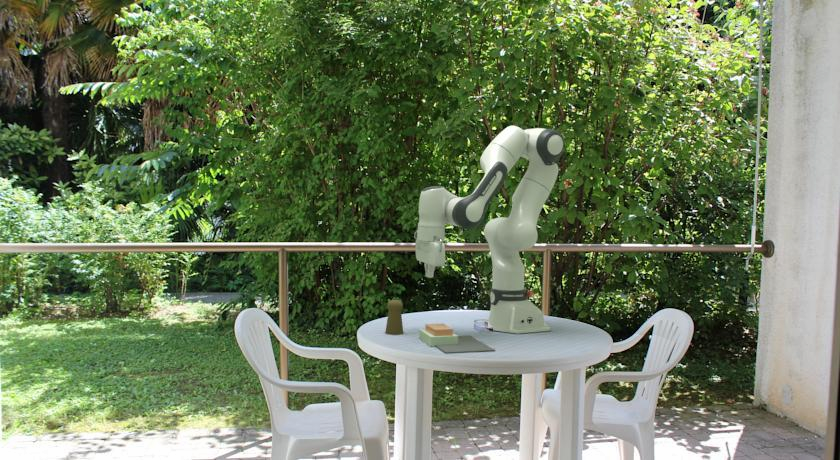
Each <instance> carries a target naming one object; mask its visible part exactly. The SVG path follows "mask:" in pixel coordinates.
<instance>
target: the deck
mask: <svg viewBox="0 0 840 460" xmlns="http://www.w3.org/2000/svg"><path fill="white" fill-rule="evenodd" d="M458 336H459V335H457V334H456V333H454V332H453V335H452V336H433V335H432V334H430V333H429V332H427V331H426V328H420V329H418V339H419V340H421V341H422V342H423V343H425V344H426V345H428V346H429V347H435V345H451V344H458ZM435 348H436V347H435Z"/></svg>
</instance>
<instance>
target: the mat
mask: <svg viewBox="0 0 840 460" xmlns="http://www.w3.org/2000/svg"><path fill="white" fill-rule="evenodd" d="M457 336H458V344H451V345H435V348H437V349H438V350H439V351H441V352H442V353H444V354H446V355H447V354H461V353H462V354H463V353H467V354H468V353H483V352H485V353H486V352H496V349H494V347H491V346H489V345H488V344H485V343H484V342H482V341H480V340H478V339H477V338H475V337H473V336H472V335H457Z"/></svg>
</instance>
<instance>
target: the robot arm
mask: <svg viewBox="0 0 840 460" xmlns="http://www.w3.org/2000/svg"><path fill="white" fill-rule="evenodd" d="M564 149H565V139H564V136H563V134H561V132H559V131H558V130H555V129H552V128H543V127H542V128H540V127H535V128H521V127H520V126H517V125H509V126H507V127H506V128H504V129H502V130H501V131H500V132H499V133H498V134H497V135H496V136H495V137H494V138H493V139H492V140H491V141H490V143H489V144H488V146H486V148H485V149H484V150H483V152H482V154H481V156H480V159H479V164H480V168H481V170H482V171H483V172H484V175H483V177H482V179H481V180H480V182H479V183H478V185H477V186H476V187H475V189H474V190H473V192H472V193H470V195H469V194H468V195H467V196H465V197H464V196H463V197H462V196H461V197H459V196H458V195H455V194H453V193H452V192H450V191H449V190H447V189H446V188H445V186H442V185H433V186H427V187H425V188H423V189H422V190H421V192H420V196H419V201H418V217H419V221H418V223H417V230H416V231H415V232H414V235H413V236H414V239H415V257H416V261H419V262H422V263H424V264H423V265H424V271H425V277H426V278H429V279H431V278H434V273H435V270H436V267H444V266H445V265H446V264H445V263H446V246H445V243H444V241H445V235H446V234H445V229H446V224H447V225H450V226H454V227H460V228H462V229H466V230H473V229H476V228H477V227H479V226H480V225H481V223H482V222H483V221H484V218H485V215H486V212H487V209H488V207H489V205H490V203H491V202H492V200H493V199H494V197H495V196H496V194H497V193H498V191H499V189H500V188H501V186H502V185H503V183H504V182H505V180H506V178H507V176H508V174H509V172H510V171H511V170H512V169H513V167H514V166H515V165H516V163H517V162H518V161H519V160H520V159H524V160H525V159H526V160H528V161H529V163H528V167H527V170H526V171H525V174H524V175H522V176H523V177H522V178H521V180H520V182H519V184H518V185H517V187H516V189H515V191H514V193H513V195H512V197H511V202H512V206H511V210H510V213H509V216H508V217H505V216H504V217H503V216H501V217H500V216H499V217H496V218H493V219H490V220H489V221H488V222H486V224H485V226H484V228H483V235H484V238H485V240H486V241H487V244H488V248H489V253H490V257H491V263H492V279H491V280H492V283H491V285H492V287H491V288H490V294H489V295H490V310H489V316H488V320H487V323H488V322H489V324H490V325H491V326H492V327H493V330H492V331H496V332H502V333H511V334H529V333H539V332H549V331H551V327H550V325H549V324H546V323H545V317H544V316H545V315H544V313H543V311H542V310H541V309H540V308H539V307H538V306H536V305H535V304H534V303H533V302H532V301H530V300H529V297H530V298H532V297H534V296H535V294H534V293H533V291H531V290H527V289H525V266H524V263H523V262H522V260H521V256H520V252H522V251H526V250H529V249H531V248H533V247H534V246H535V245H536V243H537V241H538V236H539V235H538V230H537V225H538V220H539V216H540V214H541V211H542V209H543V207H544V205H545V203H546V201H547V200H548V197H549V196H550V194H551V192H552V190H553V188H554V186H555V184H556V181H557V178H558V175H559V166H558V162H559V161H560V160H561V156H562V154H563V152H564Z"/></svg>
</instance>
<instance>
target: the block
mask: <svg viewBox="0 0 840 460" xmlns="http://www.w3.org/2000/svg"><path fill="white" fill-rule="evenodd" d="M425 329H426V331H427V332H429V333H430V334H432V335H433V336H452V335H453V333H454V332H453V331H454V330H453V328H452V327H450V326H448V325H446V324H444V323H425Z"/></svg>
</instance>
